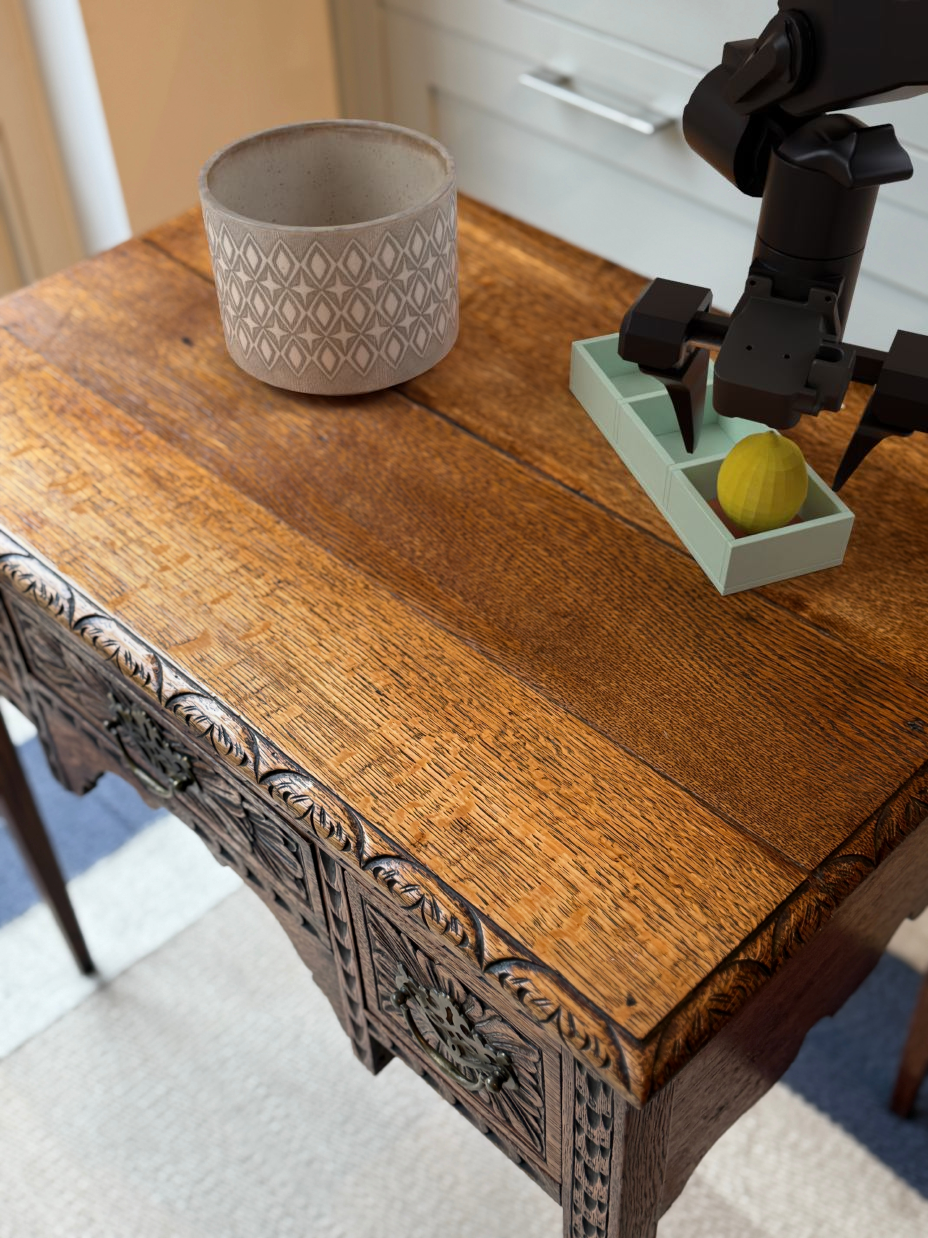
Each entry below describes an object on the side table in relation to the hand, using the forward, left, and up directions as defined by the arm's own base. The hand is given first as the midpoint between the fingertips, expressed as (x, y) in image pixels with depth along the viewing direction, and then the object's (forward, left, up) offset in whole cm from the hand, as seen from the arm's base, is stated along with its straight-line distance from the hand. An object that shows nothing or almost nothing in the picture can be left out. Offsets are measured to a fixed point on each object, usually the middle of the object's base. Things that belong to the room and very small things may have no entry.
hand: (762, 468), depth 74 cm
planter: (+35, +14, -6) cm, 38 cm away
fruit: (0, 0, -5) cm, 5 cm away
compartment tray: (+8, -1, -6) cm, 10 cm away
